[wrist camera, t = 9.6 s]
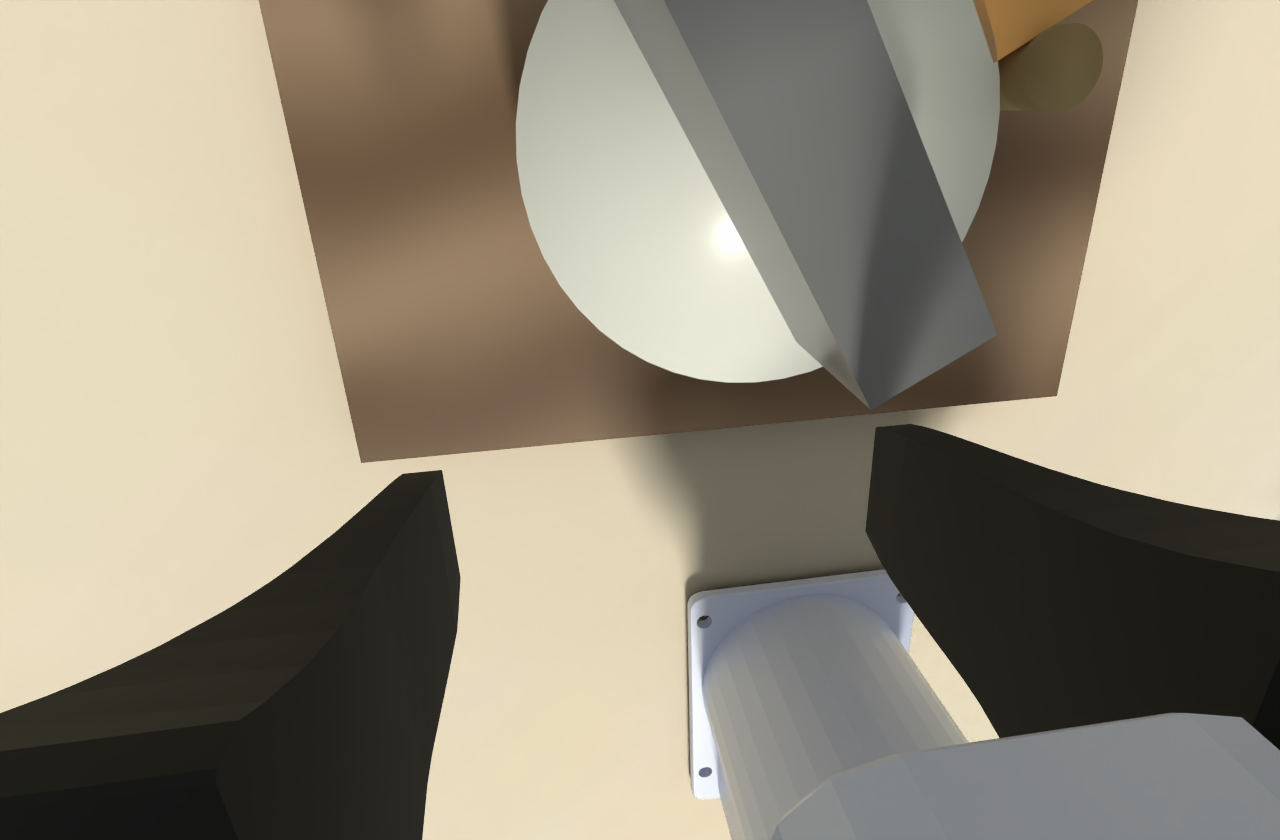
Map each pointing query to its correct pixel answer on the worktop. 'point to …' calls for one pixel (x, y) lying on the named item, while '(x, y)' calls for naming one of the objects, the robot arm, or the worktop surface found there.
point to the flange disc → (770, 177)
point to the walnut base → (523, 282)
